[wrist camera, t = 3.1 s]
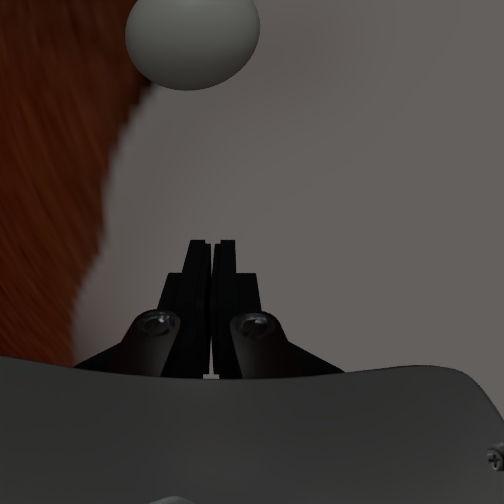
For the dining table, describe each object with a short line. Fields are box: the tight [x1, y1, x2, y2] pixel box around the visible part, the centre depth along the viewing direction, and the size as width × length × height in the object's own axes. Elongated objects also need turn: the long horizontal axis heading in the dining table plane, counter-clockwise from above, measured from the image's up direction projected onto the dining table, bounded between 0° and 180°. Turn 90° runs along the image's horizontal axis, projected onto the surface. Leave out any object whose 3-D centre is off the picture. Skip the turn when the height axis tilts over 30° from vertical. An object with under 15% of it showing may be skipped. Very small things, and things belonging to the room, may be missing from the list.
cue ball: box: [125, 0, 260, 90], centre depth 10 cm, size 6×6×6 cm
